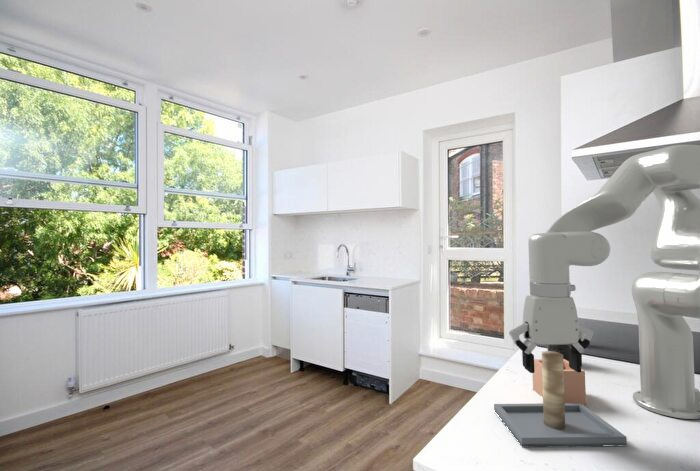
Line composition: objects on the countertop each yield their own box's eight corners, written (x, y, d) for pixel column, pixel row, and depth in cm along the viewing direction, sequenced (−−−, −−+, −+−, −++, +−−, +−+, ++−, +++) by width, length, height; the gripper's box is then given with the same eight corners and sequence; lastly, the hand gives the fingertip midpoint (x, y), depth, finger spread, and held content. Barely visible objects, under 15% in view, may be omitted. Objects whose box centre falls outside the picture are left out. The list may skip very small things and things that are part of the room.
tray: (580, 410, 81) (580, 402, 81) (626, 446, 67) (626, 436, 67) (494, 411, 82) (494, 404, 82) (521, 447, 68) (521, 437, 68)
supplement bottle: (550, 357, 117) (548, 321, 117) (573, 361, 113) (572, 324, 113) (545, 363, 112) (544, 326, 112) (570, 368, 108) (569, 329, 108)
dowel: (558, 419, 77) (556, 350, 77) (569, 429, 73) (567, 356, 73) (540, 419, 77) (537, 351, 77) (549, 429, 73) (547, 357, 73)
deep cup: (565, 389, 93) (564, 358, 93) (586, 404, 84) (584, 370, 85) (533, 389, 93) (532, 359, 93) (550, 404, 85) (549, 371, 85)
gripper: (579, 287, 79) (582, 363, 78) (501, 288, 79) (504, 364, 79) (602, 292, 71) (605, 376, 71) (516, 294, 71) (519, 378, 71)
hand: (552, 370), depth 75 cm, fingers open, 9 cm apart
